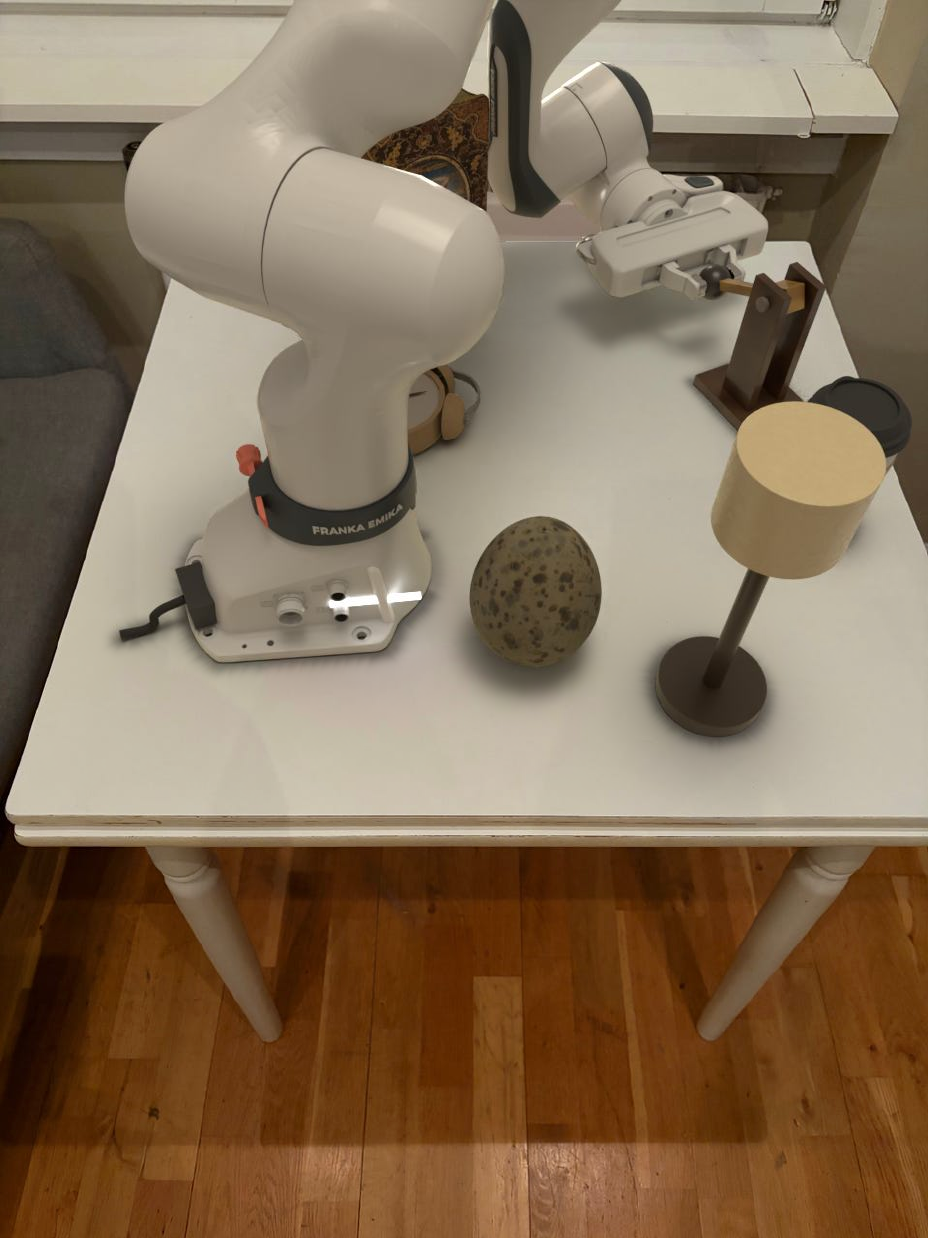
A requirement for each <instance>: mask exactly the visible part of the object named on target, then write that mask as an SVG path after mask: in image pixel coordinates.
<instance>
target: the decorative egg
mask: <svg viewBox="0 0 928 1238" xmlns="http://www.w3.org/2000/svg"><path fill="white" fill-rule="evenodd" d="M471 576H472V577H471V579H470V580H471V581H470V585H469V598H468V599H469V610H470V615H471V619H472V622H473V626H474V627H475V628H474V629H475V630H476V632H477V633H478V635H479V637H480V638H481V640H482V641H483V643H484V644H485V645H486V646H487V648H488V649H490V650H491V652H493V654H495V655H497V656H499V657H500V658H501V659H503V660H505V661H507V662H510V663H512V664H516V665H519V666H523V667H544V666H550V665H554V664H556V663H558V662H561V661H562V660H565V659H566V658H568V657H570V656H572V655H573V654H574V653H575V652H577V651H578V650H579V648H581V647H582V645H583V644H585V642H586V641H587V640H588V638H589V637H590V635H591V634H592V632H593V631H594V628H595V626H596V623H597V621H598V618H599V615H600V610H601V605H602V597H603V596H602V595H603V589H602V588H603V587H602V579H601V574H600V569H599V566H598V562H597V559H596V557H595V555H594V552H593V551H592V548H591V547H590V545H589V544H588V542H587V541H586V540H585V538H584V537H583V536H582V535H581V533H579V532H578V531H577V530H576V528H574V527H572V526H571V525H570V524H568V523H567V522H565V521H563V520H560V519H558V518H556V517H552V516H545V515H536V516H530V517H526V518H523V519H520V520H517V521H516V522H513V523H512V524H509V525H508V526H507V527H505V528H504V529H502V530H501V531H500V532H499V533H498V534H497V535H495V537H494V538H493V539H492V540H491V541H489V544H488V545H487V546H486V547H485V549H484V550H483V551H482V553H481V555H480V556H479V559H478V561H477V562H476V565H475V567H474V570H473V573H472V575H471Z"/></svg>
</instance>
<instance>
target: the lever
mask: <svg viewBox="0 0 928 1238" xmlns="http://www.w3.org/2000/svg"><path fill="white" fill-rule="evenodd" d="M698 275H700V276H701V277H702V279H703V280H705V281H706V283H707V289H706V290H705V292H706V293H705V296H703V297H702V298H703V299H705V300H707V301H718V300H720V299H721V300H722V298H724V297H725V296H726V295H727V294H728V293H730V294H735V295H740V296H744V297H748V298H749V296H750V293H751V290H752V286H753V283H754V282H750V281H749V282H748V281H745V280H744V281H738V280H733V279H732V278H731V275H730V272H729V271H728V270H727V269H726V268H725V267H724V266H722V265H718V264H713V265H709V266H707V267H705V268H704V269H703V270H702V271H701V272H700V273H698ZM775 283H776V284H777V285H778V286H780V287H781V288H782V289H783V290H784V291H785V292H786V293H787V294H789V295H790V296H791V297H792V300H791V303H790V306H789V309H788V312H787V314H789V313H792V312H795V311H798V310H801V309H804V288H805V284H804V283H800V282H795V281H789V280H784V279H782V280H779V281H776V282H775Z"/></svg>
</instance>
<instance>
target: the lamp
mask: <svg viewBox="0 0 928 1238" xmlns="http://www.w3.org/2000/svg"><path fill="white" fill-rule="evenodd" d="M734 438H735V439H734V442H733V445H732V447H731V451H730V452H729V457H728V459H727V462H726V465H725V468H724V471H723V474H722V478H721V479H720V483H719V487H718V490H717V491H716V496H715V498H714V502H713V505H712V506H711V507H712V508H711V512H710V524H711V529H712V532H713V535H714V537H715V539H716V541H717V543H718V544H719V545H720V547H721V549H723V550H724V552H725V553H726V554H727V555H728V556H730V557H731V559H733V561H735V562H736V563H738V564H739V565H741V566H743V567H744V568H746V572H745V574H744V577H743V579H742V582H741V584H740V587H739V589H738V591H737V594H736V595H735V596H736V597H735V599H734V601H733V604H732V606H731V609H730V611H729V613H728V616H727V619H726V621H725V623H724V626H723V628H722V631H721V633H720V636H719V637H717V636H707V635H701V636H693V637H692V636H691V637H689V638H685V639H683V640H680V641H678V642H676V643H675V644H674V645H672V646H671V647H670V648H669V649H668V650H667V651H666V652H665V654H664V655H663V656H662V658H661V661H660V663H659V665H658V670H657V672H656V676H655V682H654V685H655V693H656V697H657V699H658V702H659V704H660V705H661V707H662V709H663V710H664V712H665V714H667V715H668V716H669V718H670V719H671V720H672V721H674V722H675V723H676V724H678V725H679V726H680V727H682V728H683V729H685V730H687V731H689V732H692V733H695V734H698V735H701V736H704V737H705V736H706V737H712V738H713V737H716V738H717V737H718V738H719V737H727V736H733V735H736V734H738V733H740V732H742V731H744V730H746V729H748V728H749V727H750V726H751V725H752V724H753V723H754V722H755V720H757V718H758V716H759V715H760V712H761V711H762V709H763V706H764V704H765V702H766V699H767V694H768V693H767V692H768V685H767V680H766V677H765V676H766V675H765V673H764V671H763V669H762V666H761V665H760V664H759V662H758V661H757V660H756V659H755V657H754V656H753V655H751V654H750V653H749V652H748V651H747V650H745V648H743V647H742V646H740V644H741V642H742V639H743V638H744V635H745V633H746V632H747V631H746V630H747V629H748V626H749V624H750V622H751V620H752V617H753V616H754V613H755V611H756V609H757V606H758V604H759V602H760V599H761V598H762V595H763V593H764V590H765V588H766V586H767V584H768V581H769V579H770V578H775V579H781V580H792V581H793V580H804V579H810V578H813V577H817V576H820V575H822V574H824V573H826V572H828V571H830V570H831V569H832V568H834V567H835V566H836V565H837V564H838V563H839V562H840V561H841V559H842V558H843V556H844V554H845V553H846V551H847V549H848V547H849V545H850V543H851V541H852V540H853V538H854V536H855V533H856V532H857V530H858V528H859V527H860V525H861V523H862V521H863V519H864V517H865V515H866V513H867V511H868V510H869V508H870V507H871V504H872V502H873V500H874V498H875V497H876V495H877V493H878V491H879V489H880V487H881V485H882V484H883V481H884V480H885V477H886V476H885V473H886V458H885V455H884V451H883V449H882V447H881V445H880V443H879V442H878V440H877V439H876V437H875V436H874V435H873V434H872V433H871V432H870V431H869V430H868V429H867V428H866V427H865V426H864V425H863V424H861V423H860V422H858V421H857V420H856V419H854V418H852V417H851V416H849V415H847V414H845V413H843V412H841V411H839V410H836V409H833V408H831V407H827V406H824V405H820V404H815V403H809V402H807V401H804V402H795V401H793V402H781V403H775V404H772V405H768V406H765V407H763V408H760V409H759V410H757V411H755V412H753V413H752V414H751V415H750V416H748V417H747V418H746V419H745V420H744V421H743V423H742V424H741V426H740V428H739V430H737V432H736V436H735V437H734Z"/></svg>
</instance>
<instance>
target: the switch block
mask: <svg viewBox="0 0 928 1238" xmlns="http://www.w3.org/2000/svg"><path fill="white" fill-rule="evenodd" d="M783 280H789V281H795V282H800V283H804V284H805V288H804V309H801V310H798V311H795V312H792V313H789V314H787V312H788V309H789V306H790V303H791V300H792V297H791V296H790V295H789V294H787V293H786V292H785V291H784V290H783V289H782V288H781V287H780V286H778V285H777V284H776V282H775V281H774V280H773V279H772V278H771V277H769V275H767V274H766V273H765V272H761V273H758V274H756V275H755V277H754V280H753V282H752V283H753V286H752V290H751V293H750V296H749V297H748V300H747V304H746V307H745V308H744V309H745V310H744V313H743V316H742V320H741V322H740V326H739V329H738V333H737V337H736V339H735V344H734V345H733V350H732V354H731V356H730V360H729V363H725V364H723V365H720V366H717V367H714V368H712V369H708V370H706V371H702V372H700V373H697V374H695V375H694V379H693V382H692V384H693V385H694V386H695V387H696V389H698V390H699V391H700V392H701V393H702V395H704V397H705V398H706V399H707V400H708V401H709V402H710V403H711V404H712V405H713V406H714V407H715V408H716V409H717V410H718V411H719V413H721V415H723V417H724V418H725V419H727V421H728V422H729V423H730V424H731V425H732V426H733V427H734V428H735V430H737V431H738V430H739V428H740V426H741V424H742V423H743V421H744V420H745V419H746V418H747V417H748V416H750V415H751V414H752V413H753V412H755V411H757V410H759V409H760V408H763V407H765V406H768V405H772V404H775V403H781V402H793V401H795V402H805V401H804V399H802V398H801V397H800V396H799V395H798V393H796V392H795V391H794V390H793V389H792V388H791V387H790V385H791V383H792V379H793V377H794V374H795V372H796V369H797V367H798V363H799V361H800V359H801V356H802V353H803V350H804V348H805V345H806V342H807V340H808V338H809V334H810V331H811V329H812V327H813V323H814V321H815V318H816V316H817V313H818V311H819V307H820V306H821V305H820V304H821V302H822V299H823V297H824V295H825V291H826V290H827V289H826V288H827V285H825V284H824V283H823V282H822V281H821V280H820V279H818V278H817V277H816V276H815V275H814V274H812V272H810V271H809V270H808V269H807V268H805V267H804V266H803V265H802V264H801V263H800V262H798V261H795V262H792V263H789V264H788V267H787V270H786V273H785V276H784V279H783Z"/></svg>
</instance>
